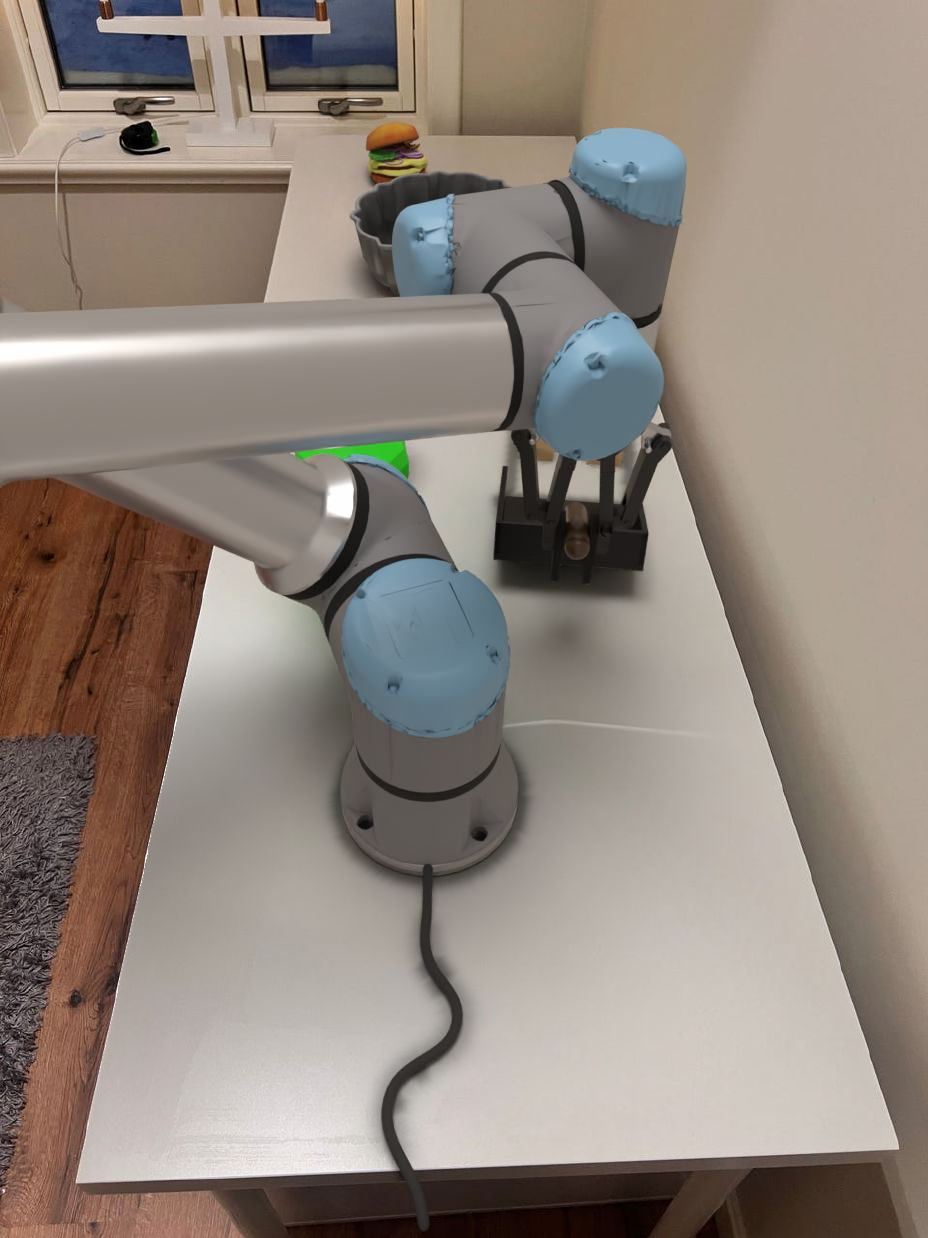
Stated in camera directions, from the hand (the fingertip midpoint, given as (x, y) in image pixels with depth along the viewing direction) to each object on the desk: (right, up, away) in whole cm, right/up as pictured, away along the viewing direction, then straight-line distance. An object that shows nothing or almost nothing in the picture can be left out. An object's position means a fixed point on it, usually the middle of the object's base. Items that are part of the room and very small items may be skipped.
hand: (570, 572), depth 89 cm
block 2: (+7, +18, +21) cm, 28 cm away
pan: (+1, +2, +7) cm, 8 cm away
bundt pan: (-13, +47, +53) cm, 72 cm away
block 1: (-1, +18, +22) cm, 28 cm away
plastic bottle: (-21, -3, +8) cm, 22 cm away
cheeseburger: (-22, +72, +75) cm, 106 cm away
